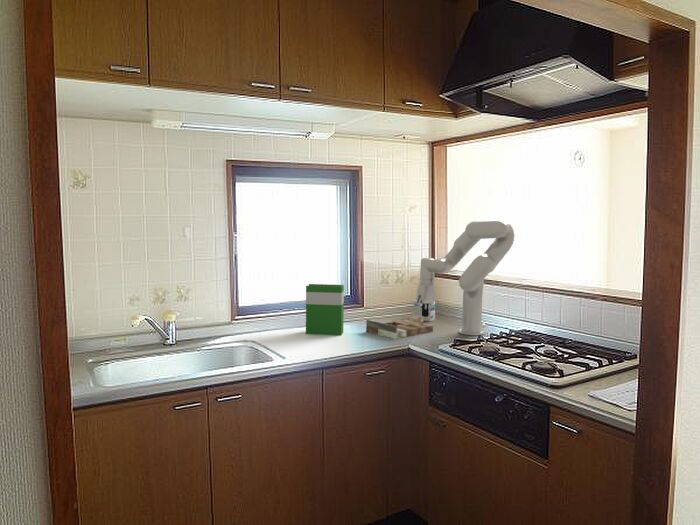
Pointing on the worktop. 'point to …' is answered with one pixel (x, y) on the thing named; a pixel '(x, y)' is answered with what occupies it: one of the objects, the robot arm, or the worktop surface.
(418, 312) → the light bulb box
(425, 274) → the robot arm
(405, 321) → the board
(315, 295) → the green cereal box
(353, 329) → the worktop surface
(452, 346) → the worktop surface
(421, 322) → the maple block
